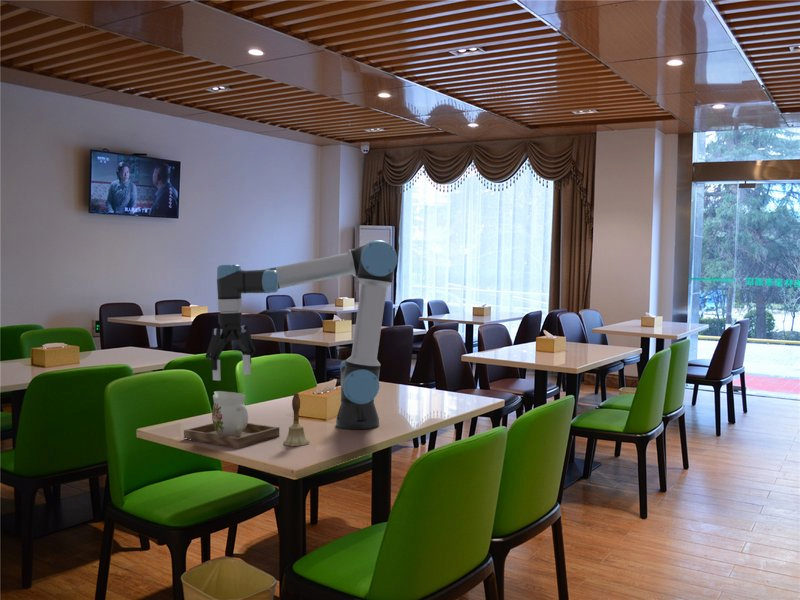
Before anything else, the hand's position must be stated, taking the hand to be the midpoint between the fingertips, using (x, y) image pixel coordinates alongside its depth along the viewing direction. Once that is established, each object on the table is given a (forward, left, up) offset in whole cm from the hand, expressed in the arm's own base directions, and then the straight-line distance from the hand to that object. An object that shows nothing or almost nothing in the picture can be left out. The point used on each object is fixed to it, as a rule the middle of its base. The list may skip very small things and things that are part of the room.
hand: (232, 377), depth 241 cm
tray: (0, 0, -20) cm, 20 cm away
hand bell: (-23, -5, -20) cm, 31 cm away
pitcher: (0, 0, -20) cm, 19 cm away
